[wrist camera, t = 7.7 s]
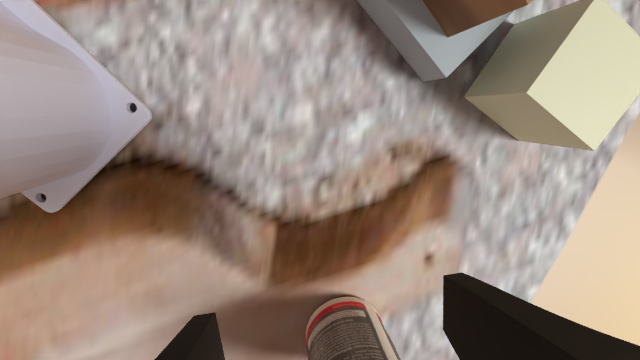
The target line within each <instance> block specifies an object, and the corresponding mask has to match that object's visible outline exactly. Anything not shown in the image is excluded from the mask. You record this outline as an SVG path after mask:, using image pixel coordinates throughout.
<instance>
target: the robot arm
mask: <svg viewBox="0 0 640 360" xmlns="http://www.w3.org/2000/svg"><path fill="white" fill-rule="evenodd" d="M132 103H134V104H135V105H136V106H137V110H136V112H132V111H131V110H130V105H131V104H132ZM151 119H152V113H151V111H150V109H149V108H148V107H147V106H146V105H145V104H144V103H142V102H141V101H140V100H139V99H138V98H137V97H136V96H135V95H134V94H133V93H132V92H131V91H130V90H129V89H128V88H126V87H125V86H124V85H123V84H122V83H121V82H120V81H119V80H118V79H117V78H116V77H115V76H114V75H113V74H112V73H111V72H109V71H108V70H107V69H106V68H105V67H104V66H103V65H102V64H101V63H100V62H99V61H98V60H97V59H96V58H95V57H93V56H92V55H91V54H90V53H89V52H88V51H87V50H86V49H85V48H84V47H83V46H82V45H81V44H80V43H79V42H78V41H76V40H75V39H74V38H73V37H72V36H71V35H70V34H69V33H68V32H67V31H66V30H65V29H64V28H63V27H62V26H60V25H59V24H58V23H57V22H56V21H55V20H54V19H53V18H52V17H51V16H50V15H49V14H48V13H47V12H46V11H45V10H43V9H42V8H41V7H40V6H39V5H38V4H37V3H36V2H35V1H34V0H0V199H1V198H4V197H7V196H10V195H13V194H16V193H22V194H23V195H24V196H26V197H27V198H28V199H30V200H31V201H32V202H34V203H35V204H36V205H38V206H39V207H40V208H42V209H43V210H44V211H46V212H50V213H52V212H56V211H58V210H60V209H62V208H63V207H64V206H65V205H66V204H67V203H68V202H69V201H70V200H71V199H72V198H73V197H74V196H75V195H76V194H77V193H78V192H79V191H80V190H81V189H82V188H83V187H84V186H85V185H86V184H87V183H88V182H89V181H90V180H91V179H92V178H93V177H94V176H95V175H96V174H97V173H98V172H99V171H100V170H101V169H102V168H103V167H104V166H105V165H107V164H108V163H109V162H110V161H111V160H112V159H113V158H114V157H115V156H116V155H117V154H118V153H119V152H120V151H121V150H122V149H123V148H124V147H125V146H126V145H127V144H128V143H129V142H130V141H131V140H132V139H133V138H134V137H135V136H136V135H137V134H138V133H139V132H140V131H141V130H142V129H143V128H144V127H145V126H146V125H147V124H148V123H149V122H150V121H151ZM41 193H42V194H44V195H45V196H46V200H44V199H43V198H42V197H41ZM443 330H444V332H445V334H446V336H447V337H448V339H449V341H450V343H451V345H452V347H453V348H454V350H455V352H456V354H457V355H458V357H459V359H460V360H640V346H638V345H635V344H632V343H630V342H627V341H624V340H621V339H618V338H615V337H612V336H610V335H607V334H604V333H601V332H598V331H596V330H593V329H591V328H588V327H585V326H583V325H580V324H578V323H575V322H573V321H571V320H568V319H566V318H563V317H561V316H558V315H556V314H554V313H551V312H549V311H547V310H544V309H542V308H540V307H538V306H535V305H533V304H531V303H529V302H526V301H524V300H522V299H520V298H518V297H515V296H513V295H511V294H509V293H507V292H505V291H502V290H500V289H498V288H496V287H494V286H492V285H489V284H487V283H485V282H483V281H481V280H478V279H476V278H474V277H471V276H469V275H466V274H464V273H456V274H450V275H444V285H443ZM155 360H225V358H224V353H223V348H222V343H221V338H220V333H219V328H218V324H217V319H216V314H215V313H209V314H203V315H197V316H194V317H193V318H192V319H191V320H190V321H189V322H188V323H187V324H186V325H185V326H184V328H183V329H182V330H181V331H180V332H179V333H178V334H177V335H176V337H175V338H174V339H173V340H172V341H171V342H170V343H169V344H168V346H167V347H166V348H165V349H164V350H163V351H162V352H161V353H160V354H159V355H158V357H157V358H156V359H155Z"/></svg>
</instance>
